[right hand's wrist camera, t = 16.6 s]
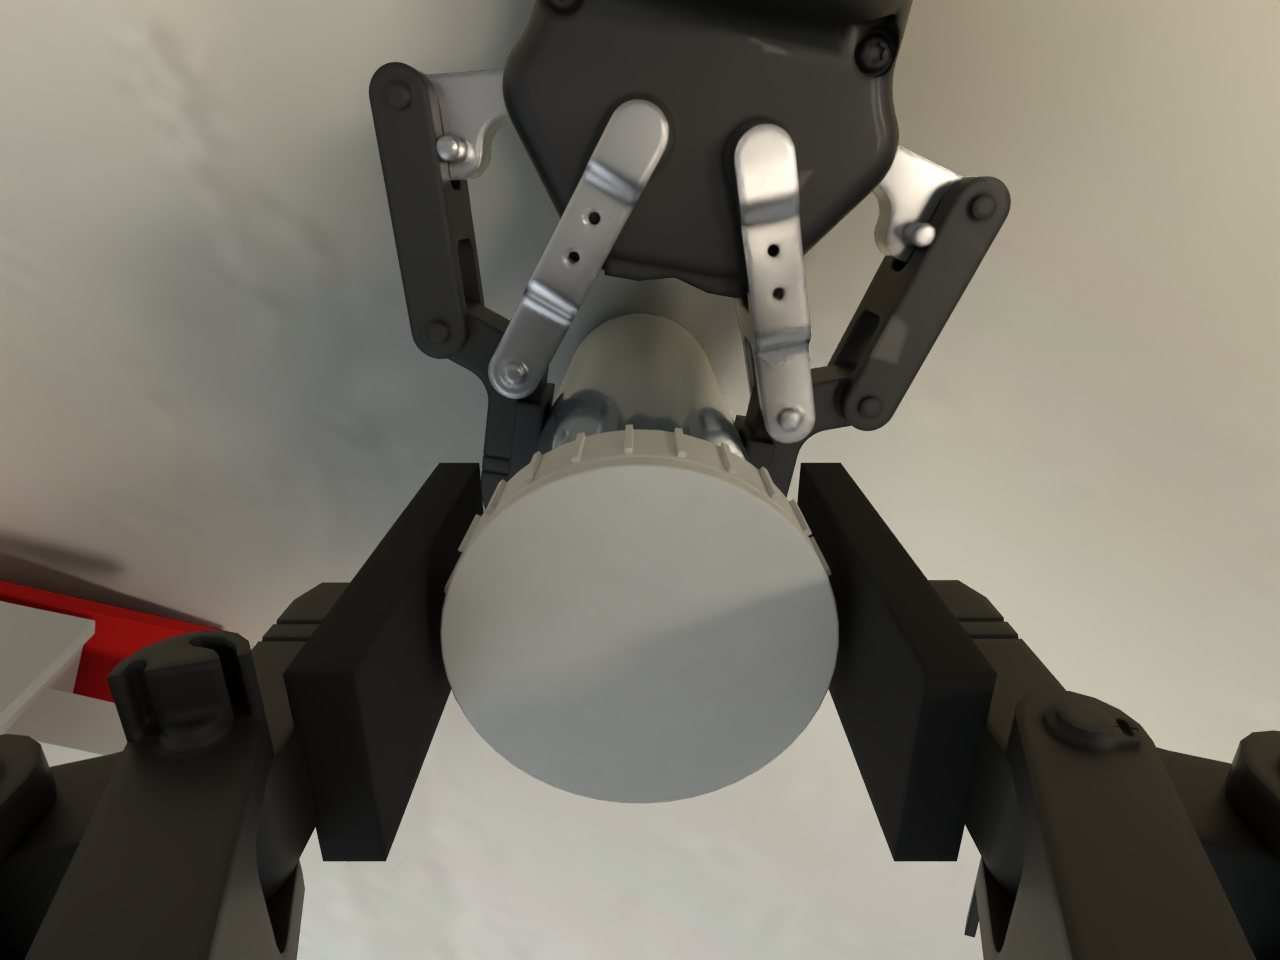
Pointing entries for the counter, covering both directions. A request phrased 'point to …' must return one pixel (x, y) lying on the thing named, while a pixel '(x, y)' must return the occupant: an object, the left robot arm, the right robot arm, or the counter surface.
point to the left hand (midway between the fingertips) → (624, 538)
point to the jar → (640, 386)
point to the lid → (639, 618)
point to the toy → (68, 668)
